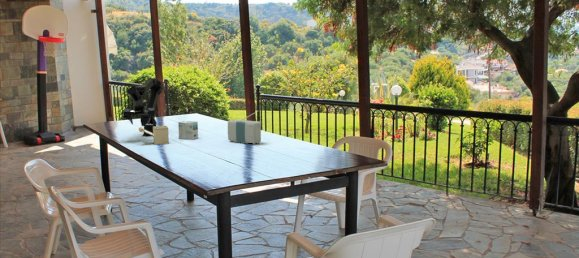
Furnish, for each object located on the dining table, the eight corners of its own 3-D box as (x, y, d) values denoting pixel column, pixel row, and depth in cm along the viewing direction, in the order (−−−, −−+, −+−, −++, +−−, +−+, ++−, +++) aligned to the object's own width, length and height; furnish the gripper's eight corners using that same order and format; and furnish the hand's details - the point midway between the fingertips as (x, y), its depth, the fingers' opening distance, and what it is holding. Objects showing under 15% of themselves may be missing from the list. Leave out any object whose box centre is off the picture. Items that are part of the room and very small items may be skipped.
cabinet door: (153, 131, 340) (139, 125, 337) (154, 134, 332) (140, 127, 328) (151, 135, 340) (137, 128, 337) (153, 137, 332) (138, 131, 328)
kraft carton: (166, 140, 344) (166, 125, 343) (168, 143, 335) (168, 128, 333) (153, 141, 341) (152, 126, 340) (155, 144, 332) (154, 128, 331)
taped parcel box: (227, 141, 341) (226, 109, 338) (236, 140, 347) (235, 108, 344) (254, 145, 329) (253, 111, 326) (262, 143, 336) (262, 110, 333)
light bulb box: (198, 138, 355) (198, 121, 353) (193, 139, 348) (192, 122, 347) (183, 137, 358) (183, 120, 356) (178, 138, 352) (177, 122, 350)
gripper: (122, 96, 337) (124, 116, 328) (154, 94, 343) (156, 115, 334) (122, 107, 345) (124, 127, 337) (153, 106, 351) (155, 125, 343)
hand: (140, 123), depth 337 cm, fingers open, 9 cm apart
